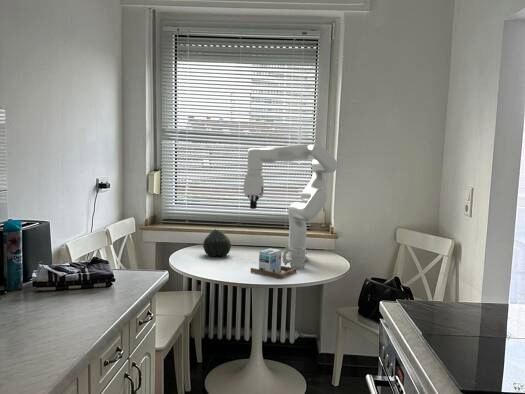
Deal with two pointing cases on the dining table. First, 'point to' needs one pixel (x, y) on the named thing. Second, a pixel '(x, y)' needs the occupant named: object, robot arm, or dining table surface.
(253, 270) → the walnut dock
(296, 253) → the mug
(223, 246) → the squash
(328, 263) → the dining table surface
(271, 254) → the light bulb box
